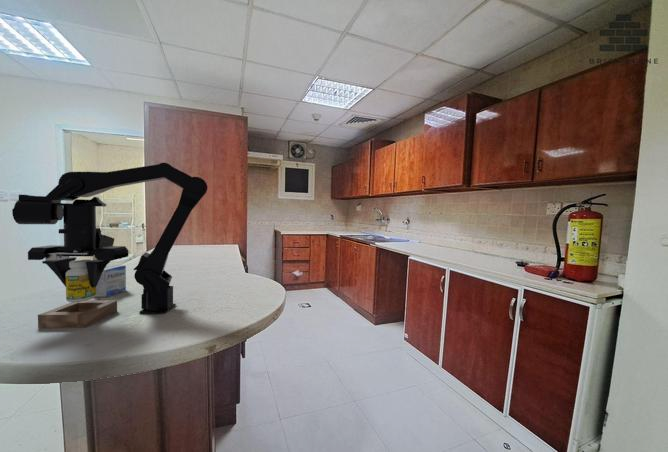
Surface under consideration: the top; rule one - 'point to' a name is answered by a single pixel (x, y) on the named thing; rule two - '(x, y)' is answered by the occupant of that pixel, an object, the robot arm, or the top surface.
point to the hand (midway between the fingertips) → (81, 287)
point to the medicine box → (111, 281)
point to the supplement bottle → (78, 282)
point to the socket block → (77, 314)
